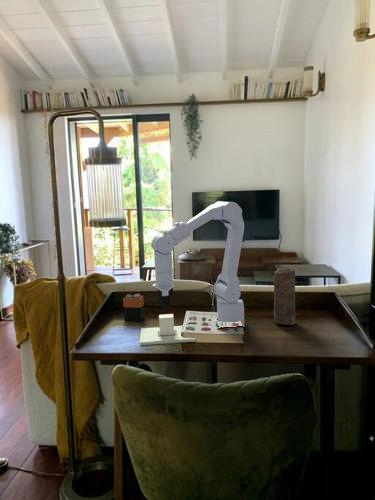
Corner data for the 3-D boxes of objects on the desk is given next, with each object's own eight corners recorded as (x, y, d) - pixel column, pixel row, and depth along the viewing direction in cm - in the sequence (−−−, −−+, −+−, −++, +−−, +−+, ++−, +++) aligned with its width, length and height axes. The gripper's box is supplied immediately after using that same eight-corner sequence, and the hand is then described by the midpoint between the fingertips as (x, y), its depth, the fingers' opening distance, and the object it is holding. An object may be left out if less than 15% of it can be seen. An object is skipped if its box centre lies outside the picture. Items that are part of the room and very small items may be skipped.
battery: (141, 322, 145) (139, 296, 143) (124, 321, 147) (122, 296, 145) (145, 318, 149) (143, 293, 148) (128, 317, 151) (126, 292, 149)
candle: (286, 329, 133) (286, 272, 129) (269, 323, 139) (269, 269, 135) (299, 323, 138) (300, 268, 134) (282, 318, 143) (282, 265, 140)
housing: (173, 330, 133) (173, 313, 132) (174, 334, 130) (173, 317, 128) (159, 331, 133) (159, 314, 132) (159, 335, 129) (159, 318, 128)
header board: (192, 327, 138) (191, 318, 137) (195, 341, 126) (194, 330, 125) (141, 331, 137) (140, 321, 136) (139, 345, 125) (139, 334, 124)
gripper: (151, 267, 134) (154, 304, 136) (151, 277, 120) (153, 318, 122) (172, 265, 135) (174, 303, 137) (174, 275, 120) (176, 317, 123)
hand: (166, 310), depth 130 cm, fingers closed
